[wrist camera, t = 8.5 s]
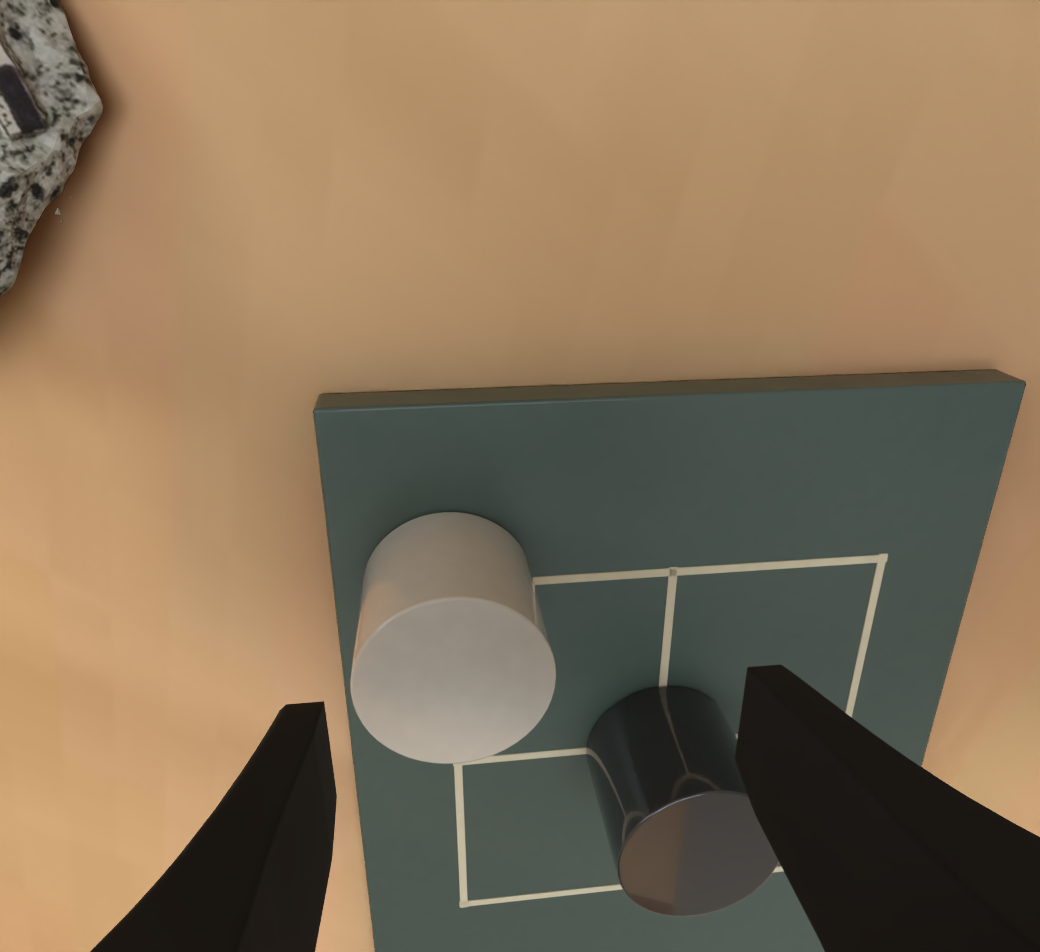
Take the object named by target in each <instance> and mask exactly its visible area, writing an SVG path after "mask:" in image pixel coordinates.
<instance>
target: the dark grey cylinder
mask: <svg viewBox="0 0 1040 952" xmlns="http://www.w3.org/2000/svg"><path fill="white" fill-rule="evenodd" d="M736 745H737V737H736V735H735V733H734V731H733V730H732V728H731V726H730V724H729V722H728V720H727V718H726V716H725V715H724V713H723V711H722V710H721V708H720V707H719V706H718V705H717V704H716V703H715V702H714V701H713V700H712V699H710V698H709V697H707V696H706V695H704V694H702V693H700V692H698V691H695V690H692V689H688V688H683V687H673V686H671V687H657V688H651V689H647V690H643V691H641V692H638V693H635V694H633V695H631V696H629V697H626V698H625V699H623V700H621V701H620V702H618V703H617V704H615V705H614V706H613V707H611V708H610V709H609V710H608V711H607V712H606V713H605V714H604V715H603V716H602V717H601V718H600V719H599V721H598V722H597V724H596V725H595V727H594V728H593V730H592V732H591V735H590V737H589V740H588V744H587V750H586V760H587V765H588V769H589V773H590V777H591V780H592V784H593V788H594V791H595V795H596V799H597V802H598V806H599V810H600V813H601V817H602V821H603V825H604V828H605V832H606V836H607V839H608V843H609V847H610V850H611V854H612V858H613V862H614V865H615V869H616V873H617V876H618V880H619V882H620V885H621V887H622V889H623V890H624V892H625V893H626V894H627V895H628V896H629V898H630V899H631V900H632V901H634V902H635V903H636V904H638V905H639V906H641V907H643V908H645V909H647V910H649V911H652V912H655V913H658V914H663V915H669V916H695V915H701V914H706V913H710V912H714V911H717V910H720V909H723V908H726V907H728V906H730V905H733V904H735V903H737V902H738V901H740V900H742V899H744V898H745V897H747V896H748V895H750V894H751V893H753V892H754V891H755V890H756V889H758V888H759V887H760V886H761V885H762V884H763V883H764V882H765V881H766V880H767V879H768V878H769V876H770V875H771V874H772V873H773V871H774V870H775V868H776V866H777V865H778V863H779V861H778V859H777V857H776V855H775V853H774V851H773V849H772V847H771V845H770V843H769V841H768V839H767V837H766V835H765V833H764V831H763V829H762V827H761V825H760V823H759V821H758V819H757V817H756V815H755V813H754V810H753V808H752V805H751V802H750V800H749V797H748V795H747V792H746V789H745V786H744V784H743V781H742V778H741V775H740V772H739V769H738V766H737V764H736V761H735V752H736Z"/></svg>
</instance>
